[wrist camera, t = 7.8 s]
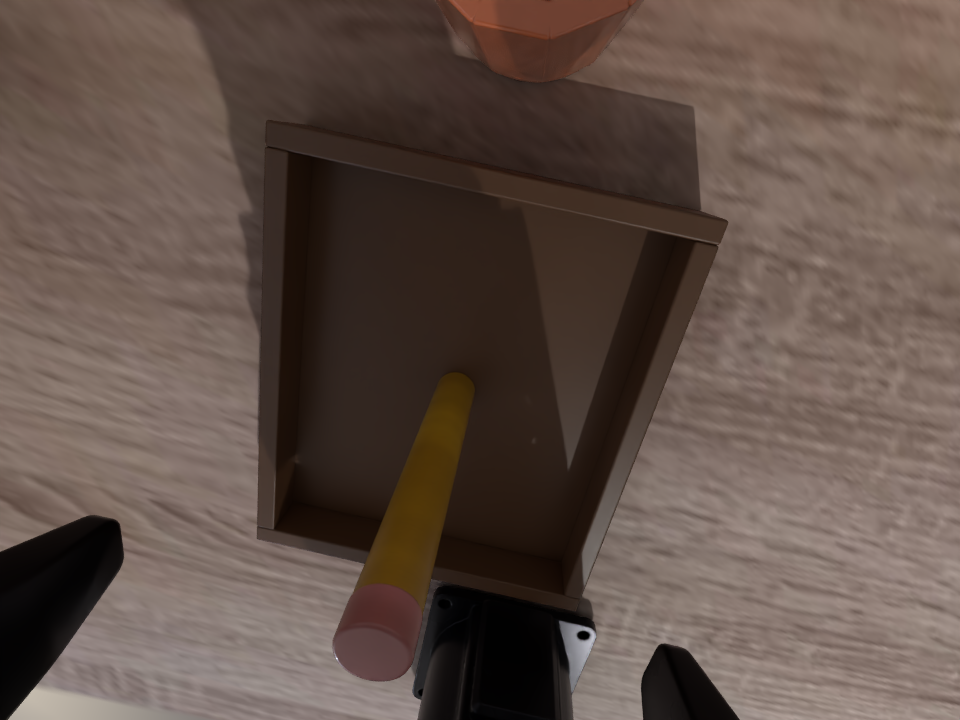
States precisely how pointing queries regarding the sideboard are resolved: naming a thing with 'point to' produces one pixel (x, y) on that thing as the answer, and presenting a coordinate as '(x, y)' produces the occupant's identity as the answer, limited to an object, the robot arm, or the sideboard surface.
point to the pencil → (406, 545)
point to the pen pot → (537, 33)
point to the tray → (462, 350)
